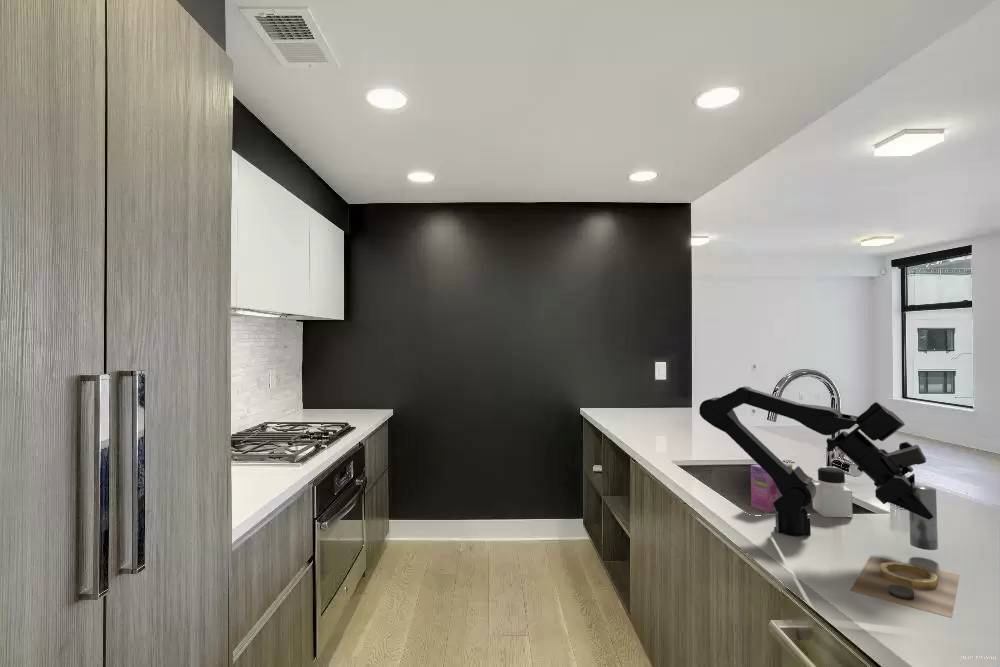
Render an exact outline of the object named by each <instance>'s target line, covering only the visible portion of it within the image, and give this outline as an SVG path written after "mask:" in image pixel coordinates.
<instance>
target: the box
mask: <svg viewBox="0 0 1000 667" xmlns="http://www.w3.org/2000/svg"><path fill="white" fill-rule="evenodd" d="M783 463H784V464H785V465H786V466H788V467H790V468H792V469H793V464H792V463H787V462H783ZM750 493H751V495H750V496H751V498H750V499H751V501H750V502H751V508H753V509H756V510H759V511H763V512H766V513H772V512H775V507H774V504H773V502H774V501H775V500H776V499H777V498H778V497H779V496H780V495H781V493H780V492H779V490H778V489H777V487H776V485H775V483H774V481H773V479H772V478H771V476H770V475H769V474H768V473H767V472H766V471H765V470H764V469H762V468H761V467H760V466H759V465H758V464H757V463H756V464H750Z"/></svg>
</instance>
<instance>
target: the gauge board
mask: <svg viewBox="0 0 1000 667" xmlns="http://www.w3.org/2000/svg"><path fill="white" fill-rule="evenodd" d="M888 562H897V563H904V562H903V561H898V560H893V559H890V558H884V557H880V556H876V555H870V556H869V557H868V560H867V561H866V563H865V565H864V566H863V567H862V568H863V569H862V570H861V572H860V573H859V574H858V576H857V579H856V580H855V582H854V583H853V585H852V587H850V590H849V591H850V592H853V593H857V594H860V595H863V596H868V597H871V598H872V597H873V598H876V599H880V600H883V601H887V602H891V603H894V604H898V605H903V606H905V607H909V608H913V609H916V610H921V611H925V612H928V613H932V614H935V615H939V616H943V617H947V618H951V619H952V618H953V611H954V607H955V603H956V602H955V601H956V598H957V597H956V596H957V593H958V592H957V590H958V586H959V580H960V574H957V573H952V572H948V571H944V570H938V569H935V568H930V567H927V566H926V567H925V566H921V565H916V564H914V565H915V566H919V567H922V568H924V569H926V570H929V571H931V572H933V573H934V574H935V575H936V576H937V577H938V584H937V586H936V587H935V588H929V589H922V588H912V587H908V586H904V585H900V584H896V583H894V582H892V581H890V580H888V579H885V578H884V577H883V576H882V575H881V574H880V569H879V567H880V565H881V564H882V563H888ZM905 563H906V564H910V565H913V564H912V563H907V562H905ZM890 572H892V573H894V574H896V575H898V576H902V577H906V578H910V579H920V580H923V579H927V578H925V577H923V576H920V575H918V574H915V573H911V572H907V571H897V570H894V571H890Z"/></svg>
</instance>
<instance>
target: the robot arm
mask: <svg viewBox="0 0 1000 667" xmlns="http://www.w3.org/2000/svg"><path fill="white" fill-rule="evenodd" d="M744 404H745V405H748V406H751V407H754V408H757V409H761V410H763V411H767V412H770V413H773V414H775V415H778V416H783V417H785V418H789V419H792V420H794V421H796V422H798V423H800V424H801V425H803V426H804V427H806V428H808V429H810V430H812V431H814V432H816V433H818V434H820V435H823V436H832V435H836V433H838V432H839V431H841V432H840V433H839V434H837V435H836V436H835V437H833V438H830V437H828V438H827V439H825V441H826V444H827V447H826V451H827V452H828V453H831V452H832V451H833V450H835V449H836V448H838V449H839V451H841V452H842V453H843V454H844V455H845V456H846V457H847V458H848V459H849V460H851V462H852V463H854V465H856V466H857V467H856V469H857V470H858V471H859V472H860V473H862V472H864V474H865V475H866V476H868V477H869V479H871V480H872V481H873V482H874V483H873V485H874V486H875V490H874V492H875V494H874V495H875V498H876V499H877V500H878V501H879V502H880V503H882V504H883V505H885V504H887V503H888V504H892V505H895V506H897V507H899V508H901V509H904V510H906V511H908V512H909V511H911V512H913V513H915V514H917V515H919V516H922V517H924V518H926V519H928V520H930V519H931V518H933V515H932V514H931V513H930V511H929V510H928V509H927V508H926V506H925V505H924V504H923V503H922V502H921V501H920V499H919V498H918V497H917V496H916V495H915V493H914V485H916V483H915V482H916V480H915V478H916V474H915V473H913V471H914V468H913V467H912V466H915V465H923V464H924V463H927V458H926V456H925V454H924V452H923V451H922V449H921V448H920V446H919V445H917V444H914V445H913V444H911V443H910V442H908V441H904V442H901V443H899V444H898V445H899V447H898V449H895V450H894V451H892V452H891V451H890V452H888V451H887V450H885V449H884V448H879V447H877V446H876V445H875V444H874V443H873V442H875V441H878V440H879V441H880V442H884V441H885V440H887V439H889V437H891V436H893V434H894V433H896V432H898V431H899V430H900V429H902V428H903V427H904V426H905V425H906V424H905V422H904V421H903V419H901V418H900V417H899V416H898V415H897V414H895V412H893V411H892V410H889V409H887V408H886V407H885V406H884V405H882V404H880V403H879V402H878V401H875V402H873V403H872V404H871V405H870V406H869V407H868V408H867V409H866V410H864V411H863V412H862V413H861V414H859V415H858V416H857V415H854V414H852V415H851V414H845V413H842V412H841V411H840V410H839V409H837V408H836V407H835V408H834V407H831V406H825V405H824V406H823V405H817V404H806V403H801V402H796V401H794V400H793V401H792V400H790V399H788V398H783V397H779V396H777V395H773V394H771V393H767V392H764V391H761V390H758V389H754V388H752V387H750V386H745V385H744V386H740V387H738V388H736V389H735V390H734V391H731V392H729V393H727V394H725V395H723V396H721V397H719V396H718V397H717V396H716V397H713V398H709V399H706V400H704V401H702V402H701V404H700V405H699V411H698V412H699V415H700V416H701V418H702V419H703V420H704V421H706V422H707V423H708V424H709V425H711V426H712V427H714V428H715V429H718V430H720V431H722V432H724V433H725V434H727V436H729V438H730V439H732V441H734V442H735V443H736V444H737V445H738V446H739V448H741V449H742V450H743V451H744V452H745V453H746V454H747V455H748V456H749V457H750V458H751V459H752V460H753V461H755V463H756V464H758V465H759V466H760V467H761V468H762V469H764V470H765V471H766V472H767V473H768V474H769V475H770V476H771V478H772V479H773V481H774V483H775V485H776V487H777V489H778V490H779V492H780V493H781V495H780V496H779V497H778V498H777V499H776V500H775V501H774V502H773V504H774V507H775V511H774V512H775V526H774V527H773V530H774V531H775V533H776V534H777V533H778V534H781V535H786V536H791V537H803V536H806V537H807V536H811V535H812V534H811V531H812V530H811V529H812V528H811V527H812V526H811V517H809V515H808V510H807V509H806V507H807V506H809V504H810V503H811V502H813V498H814V497H815V495H816V487H815V485H814V483H815V482H813V479H814V478H813V477H811V476H809V475H807V473H805V472H804V470H803V469H802V468H801V467H800V466H799V465H797V466H796V467H795V468H794V469H793V467H792V468H790V467H788V466H786V465H785V464H784V463H785V462H783V461H782V460H781V459H779V458H778V456H776V455H775V454H774V453H773V452H772V450H770V449H769V448H768V446H766V445H765V444H764V443H763V442H762V441H761V440H760V439H759V438H757V437H756V436H755V435H754V434H753V433H752V432H751V431H750V430H749V429H748V428H747V427H746V426H745V425H744V424H742V422H741V421H740V419H739V417H738V416H737V413H736V412H735V410H734V409H736V408H738V407H741V406H742V405H744ZM855 425H858V426H857V427H855V428H854V429H853V430H851V431H850V432H847V431H846V430H849V429H851V428H853V427H854V426H855ZM843 430H844V431H843ZM860 431H861V432H860ZM868 438H869V439H868ZM872 441H873V442H872ZM908 473H912V474H911V475H909V476H907V475H906V474H908Z"/></svg>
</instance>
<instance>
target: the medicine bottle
mask: <svg viewBox="0 0 1000 667" xmlns="http://www.w3.org/2000/svg"><path fill="white" fill-rule="evenodd" d="M845 473H846V472H845V471H844V470H843V469H842V468H839V467H836V466H835V467H834V466H821V467H819V468H818V469H817V481H818V482H813V483H814V485H815V487H816V495H815V497H814V498H813V500H812V509H813V510H814V511H816V512H817V513H819V515H821V516H822V517H825V518H841V517H848V516H849V517H850V516H851V517H853V516H854V513H853V511H854V510H853V506H854V505H853V491H852V490H851V489H849V488H848V487H846V486H845V485H846V474H845ZM853 518H854V517H853Z"/></svg>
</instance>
